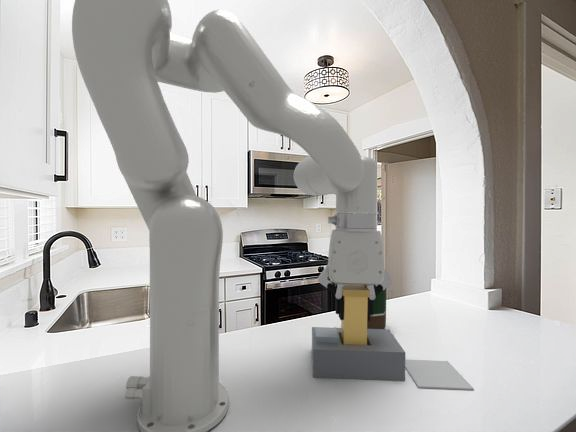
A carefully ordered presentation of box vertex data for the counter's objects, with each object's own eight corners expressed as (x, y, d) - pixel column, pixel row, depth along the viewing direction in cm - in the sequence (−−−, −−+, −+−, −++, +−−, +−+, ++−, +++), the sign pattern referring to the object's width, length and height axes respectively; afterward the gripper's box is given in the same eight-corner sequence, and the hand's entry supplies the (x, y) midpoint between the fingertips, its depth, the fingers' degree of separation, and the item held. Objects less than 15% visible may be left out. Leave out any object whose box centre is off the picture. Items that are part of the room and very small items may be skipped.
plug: (342, 355, 54) (343, 289, 54) (339, 344, 59) (340, 283, 59) (368, 356, 54) (369, 290, 54) (363, 344, 59) (364, 284, 59)
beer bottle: (382, 323, 78) (383, 232, 77) (389, 335, 70) (390, 235, 70) (352, 322, 79) (353, 232, 78) (356, 334, 71) (357, 234, 70)
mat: (418, 388, 49) (418, 386, 49) (400, 360, 58) (400, 359, 58) (473, 390, 49) (473, 388, 49) (447, 362, 58) (447, 360, 58)
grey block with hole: (313, 377, 52) (313, 343, 52) (311, 350, 62) (311, 322, 62) (405, 380, 51) (405, 346, 51) (388, 353, 61) (389, 324, 61)
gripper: (311, 223, 53) (310, 324, 53) (407, 224, 52) (405, 327, 52) (311, 221, 61) (309, 310, 61) (394, 223, 60) (392, 313, 60)
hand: (353, 317), depth 57 cm, fingers closed on plug, 4 cm apart
